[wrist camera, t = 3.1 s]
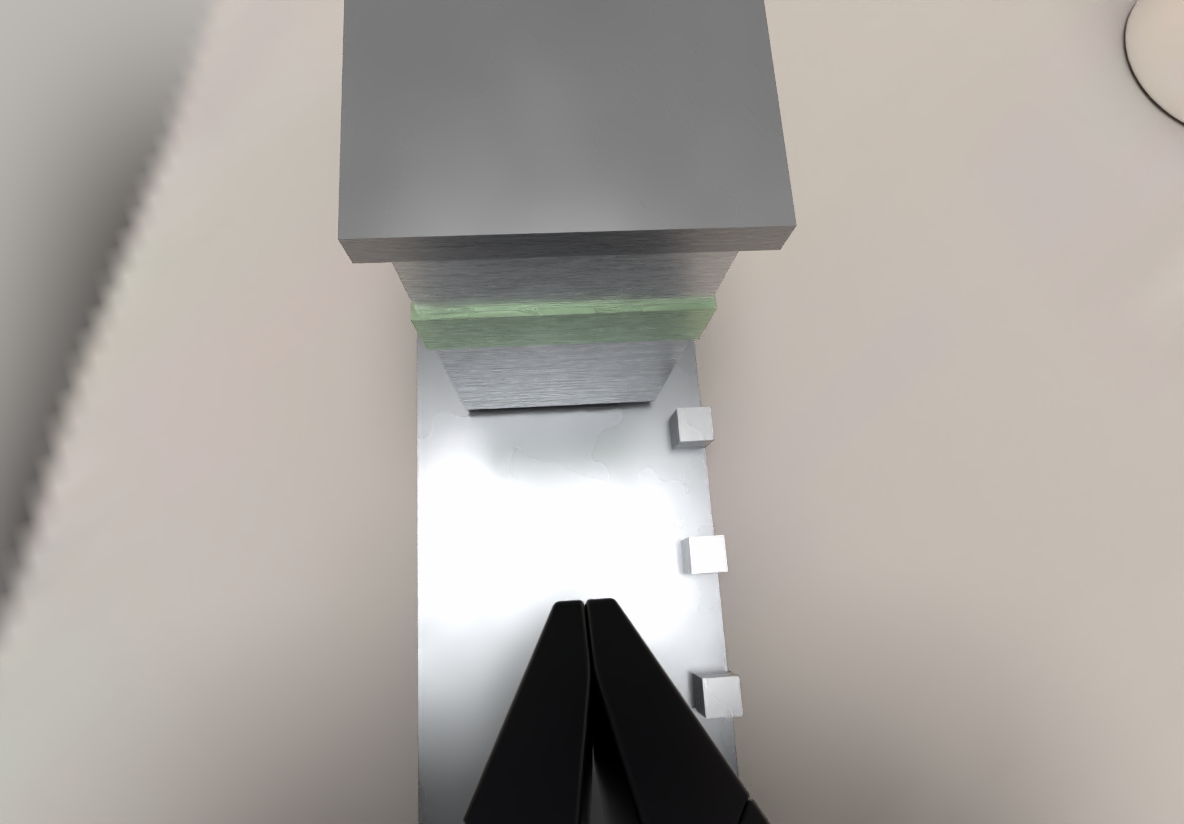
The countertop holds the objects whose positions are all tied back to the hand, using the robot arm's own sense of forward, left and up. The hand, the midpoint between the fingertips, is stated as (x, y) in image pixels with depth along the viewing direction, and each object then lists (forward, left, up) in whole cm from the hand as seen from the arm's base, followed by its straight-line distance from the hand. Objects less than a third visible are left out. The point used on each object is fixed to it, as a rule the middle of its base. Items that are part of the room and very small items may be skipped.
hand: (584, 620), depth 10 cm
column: (+7, -2, -6) cm, 9 cm away
